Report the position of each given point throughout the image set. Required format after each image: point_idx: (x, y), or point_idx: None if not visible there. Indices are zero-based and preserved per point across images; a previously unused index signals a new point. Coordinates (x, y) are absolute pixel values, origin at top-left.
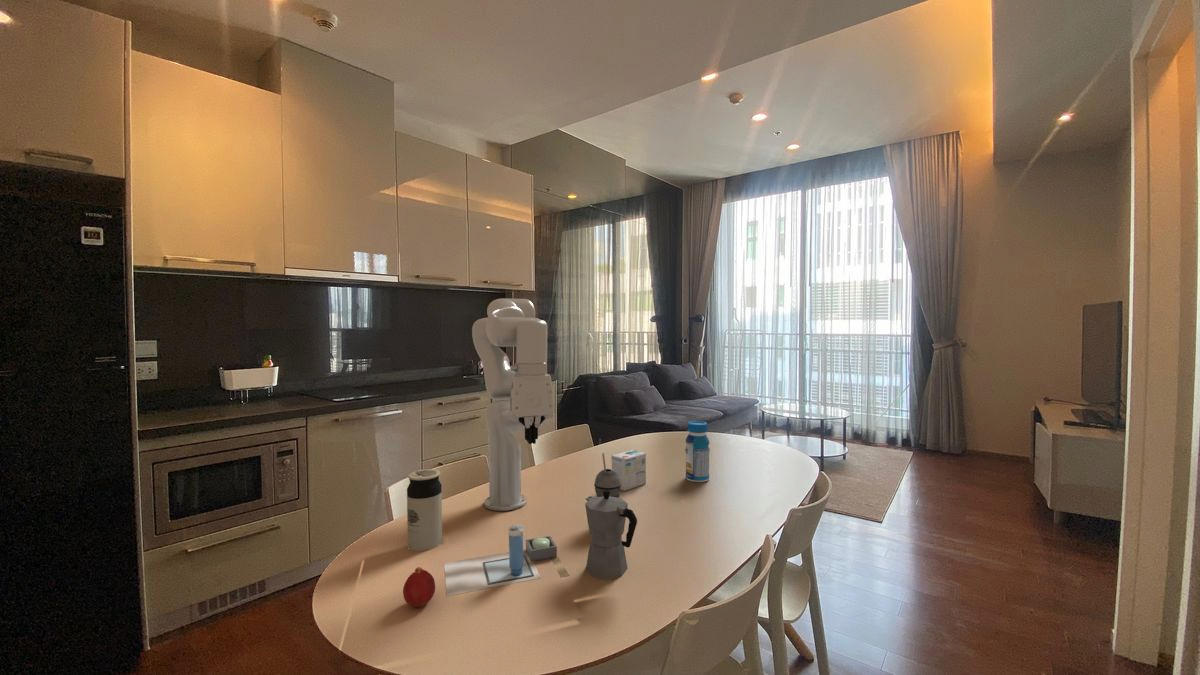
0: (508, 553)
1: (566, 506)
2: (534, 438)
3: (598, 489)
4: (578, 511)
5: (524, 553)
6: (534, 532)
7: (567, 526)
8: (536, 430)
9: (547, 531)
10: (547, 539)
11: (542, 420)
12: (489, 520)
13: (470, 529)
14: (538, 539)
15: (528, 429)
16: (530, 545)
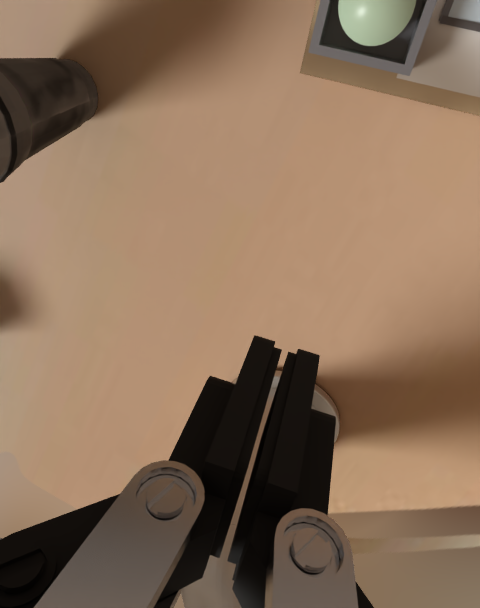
0: (476, 83)
1: (137, 303)
2: (258, 368)
3: (10, 109)
4: (117, 254)
5: (427, 45)
6: (298, 204)
7: (186, 180)
8: (195, 447)
9: (258, 185)
10: (342, 6)
11: (47, 538)
12: (372, 355)
13: (453, 339)
14: (374, 30)
15: (294, 501)
16: (425, 6)
